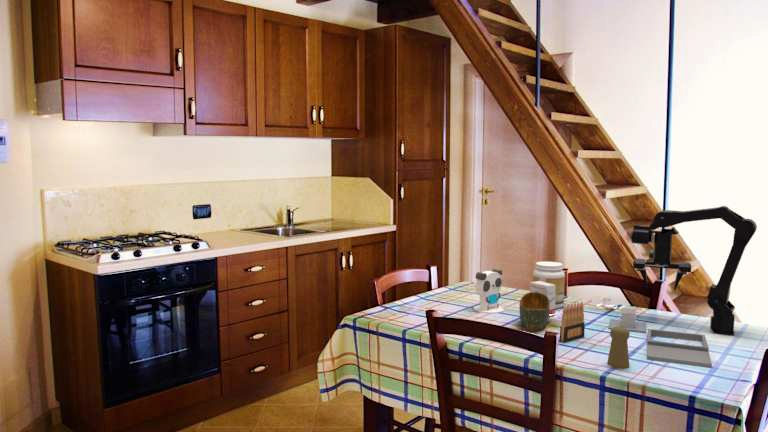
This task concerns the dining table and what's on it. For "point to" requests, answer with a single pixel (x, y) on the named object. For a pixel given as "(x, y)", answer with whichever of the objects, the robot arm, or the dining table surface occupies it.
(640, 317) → the dining table surface
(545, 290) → the ink box
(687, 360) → the gray rectangular frame
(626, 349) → the brown tapered mill
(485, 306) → the panda figurine
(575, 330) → the ammunition clip
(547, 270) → the supplement tub
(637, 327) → the slate mat
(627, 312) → the block
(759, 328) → the dining table surface
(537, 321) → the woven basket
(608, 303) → the teacup and saucer
